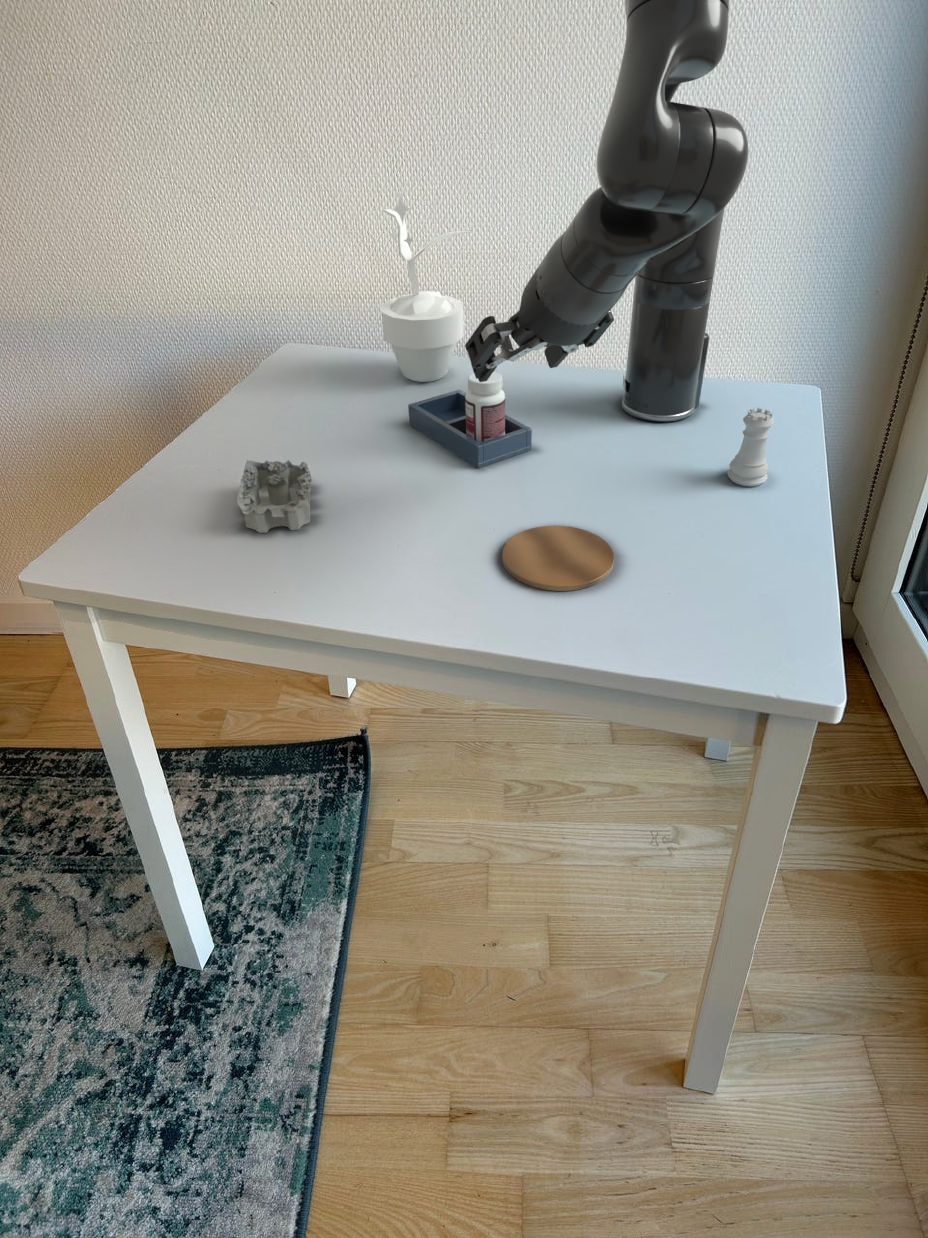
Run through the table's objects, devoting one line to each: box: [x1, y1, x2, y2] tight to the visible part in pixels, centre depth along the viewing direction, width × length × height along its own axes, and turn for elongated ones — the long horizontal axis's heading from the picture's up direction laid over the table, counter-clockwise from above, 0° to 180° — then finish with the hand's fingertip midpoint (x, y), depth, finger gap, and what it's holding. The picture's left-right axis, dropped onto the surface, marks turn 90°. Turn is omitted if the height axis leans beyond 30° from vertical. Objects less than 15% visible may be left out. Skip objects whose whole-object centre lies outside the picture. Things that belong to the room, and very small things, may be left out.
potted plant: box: [380, 193, 472, 383], centre depth 117 cm, size 13×12×25 cm
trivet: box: [501, 525, 615, 592], centre depth 85 cm, size 11×11×1 cm
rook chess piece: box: [727, 407, 775, 488], centre depth 96 cm, size 4×4×8 cm
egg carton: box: [236, 459, 312, 534], centre depth 93 cm, size 11×8×4 cm
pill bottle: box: [465, 370, 506, 443], centre depth 103 cm, size 5×5×8 cm
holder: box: [407, 389, 533, 469], centre depth 107 cm, size 8×15×3 cm, turn 35°
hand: (514, 366), depth 93 cm, fingers open, 8 cm apart
